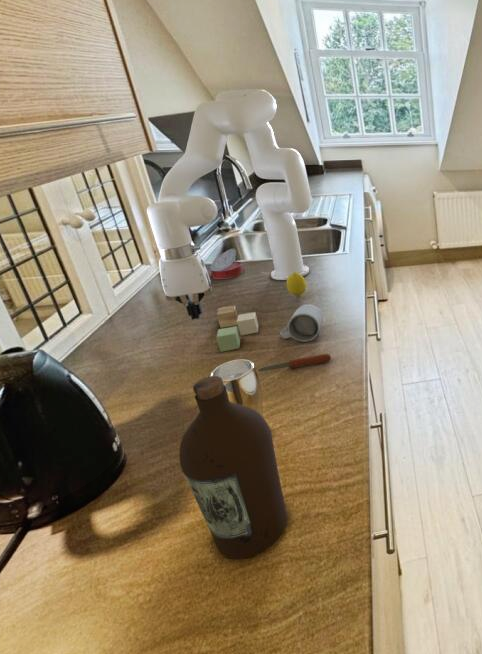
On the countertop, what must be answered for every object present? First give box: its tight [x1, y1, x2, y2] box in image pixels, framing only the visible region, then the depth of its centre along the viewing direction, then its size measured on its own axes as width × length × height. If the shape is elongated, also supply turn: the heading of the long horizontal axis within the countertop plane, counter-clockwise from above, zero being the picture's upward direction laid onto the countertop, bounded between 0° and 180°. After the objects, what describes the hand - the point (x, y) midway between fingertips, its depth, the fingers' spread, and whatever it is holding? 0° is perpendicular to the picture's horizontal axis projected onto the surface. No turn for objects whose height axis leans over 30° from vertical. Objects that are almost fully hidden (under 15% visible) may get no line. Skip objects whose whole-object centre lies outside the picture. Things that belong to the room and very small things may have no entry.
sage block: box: [216, 325, 242, 353], centre depth 112 cm, size 4×4×4 cm
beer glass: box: [210, 358, 265, 419], centre depth 78 cm, size 7×7×15 cm
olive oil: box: [178, 375, 288, 560], centre depth 60 cm, size 11×11×25 cm
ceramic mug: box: [279, 303, 324, 343], centre depth 116 cm, size 11×8×8 cm
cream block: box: [237, 311, 259, 336], centre depth 120 cm, size 4×4×4 cm
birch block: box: [216, 305, 239, 329], centre depth 124 cm, size 4×4×4 cm
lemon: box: [286, 272, 307, 298], centre depth 138 cm, size 6×6×8 cm
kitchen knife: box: [257, 353, 332, 373], centre depth 103 cm, size 16×1×2 cm, turn 108°
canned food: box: [209, 248, 244, 280], centre depth 159 cm, size 11×10×10 cm
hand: (196, 316), depth 121 cm, fingers closed
